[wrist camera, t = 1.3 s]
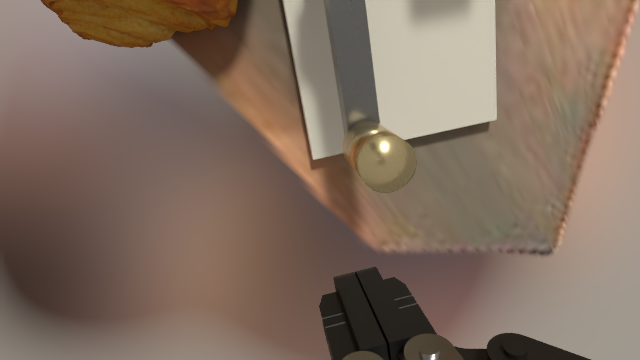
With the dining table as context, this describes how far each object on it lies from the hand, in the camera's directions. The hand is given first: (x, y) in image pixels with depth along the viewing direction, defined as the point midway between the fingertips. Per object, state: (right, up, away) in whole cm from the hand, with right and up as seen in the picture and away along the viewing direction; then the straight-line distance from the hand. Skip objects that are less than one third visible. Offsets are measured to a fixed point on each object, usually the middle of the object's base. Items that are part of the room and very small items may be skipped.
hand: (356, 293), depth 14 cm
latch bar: (+1, +13, +15) cm, 20 cm away
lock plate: (+6, +17, +19) cm, 26 cm away
